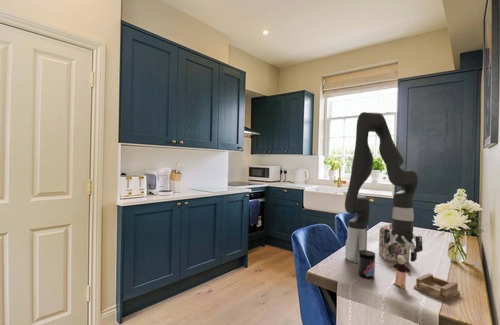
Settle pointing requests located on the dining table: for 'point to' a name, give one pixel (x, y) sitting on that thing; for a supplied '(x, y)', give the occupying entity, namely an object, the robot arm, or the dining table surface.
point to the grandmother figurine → (401, 272)
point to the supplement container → (366, 264)
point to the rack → (436, 287)
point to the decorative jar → (398, 247)
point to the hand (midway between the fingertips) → (401, 257)
